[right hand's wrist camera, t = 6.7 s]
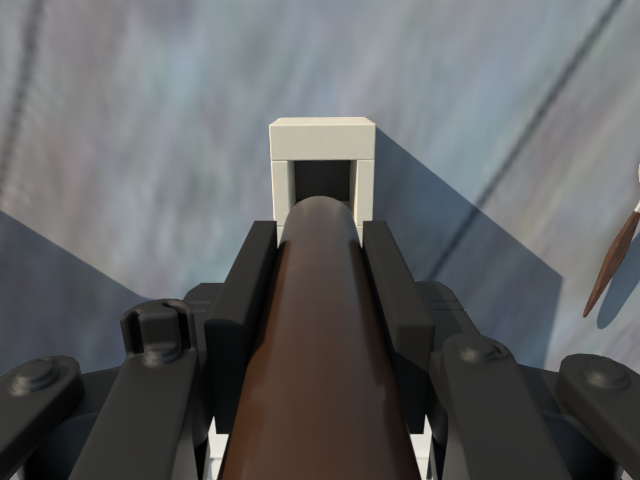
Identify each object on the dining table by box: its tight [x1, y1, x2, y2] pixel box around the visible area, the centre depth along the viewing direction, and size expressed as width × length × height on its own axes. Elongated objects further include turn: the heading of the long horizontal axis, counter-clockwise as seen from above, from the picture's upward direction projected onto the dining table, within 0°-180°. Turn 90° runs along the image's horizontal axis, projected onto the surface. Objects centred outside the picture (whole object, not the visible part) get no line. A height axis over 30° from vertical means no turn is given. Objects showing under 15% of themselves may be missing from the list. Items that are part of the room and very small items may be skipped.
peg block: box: [269, 117, 376, 247], centre depth 30 cm, size 6×24×6 cm, turn 1°
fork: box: [583, 166, 640, 317], centre depth 30 cm, size 3×16×2 cm, turn 167°
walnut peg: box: [217, 196, 422, 480], centre depth 11 cm, size 3×3×14 cm
